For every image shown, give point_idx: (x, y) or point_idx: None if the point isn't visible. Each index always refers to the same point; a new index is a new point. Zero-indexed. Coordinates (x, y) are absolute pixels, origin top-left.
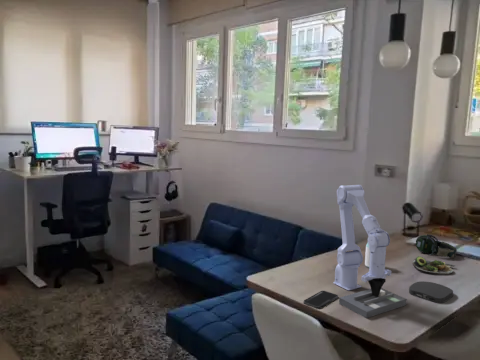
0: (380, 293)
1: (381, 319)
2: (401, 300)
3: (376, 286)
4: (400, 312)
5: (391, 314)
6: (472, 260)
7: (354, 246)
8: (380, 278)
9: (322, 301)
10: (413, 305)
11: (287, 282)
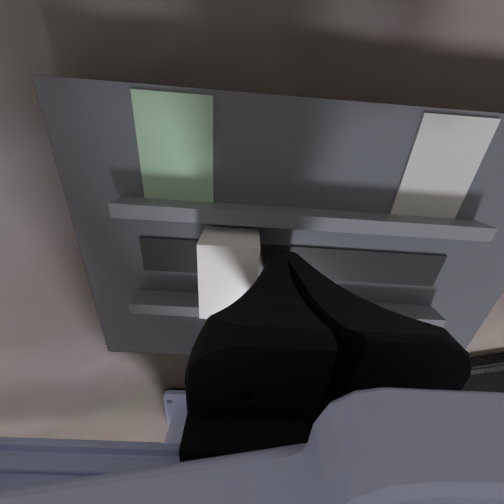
0: (259, 251)
1: (496, 24)
2: (113, 83)
3: (376, 308)
4: (239, 9)
5: (340, 37)
6: None
7: None
8: (253, 418)
9: (478, 381)
10: (12, 35)
11: None
